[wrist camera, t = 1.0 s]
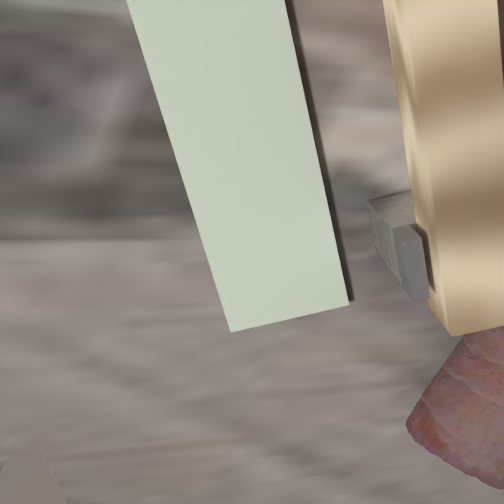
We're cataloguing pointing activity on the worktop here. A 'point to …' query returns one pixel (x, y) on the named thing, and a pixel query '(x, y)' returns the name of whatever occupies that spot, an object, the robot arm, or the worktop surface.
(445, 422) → the food
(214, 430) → the worktop surface
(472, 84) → the rail
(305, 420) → the worktop surface
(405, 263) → the post
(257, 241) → the mat
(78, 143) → the worktop surface
